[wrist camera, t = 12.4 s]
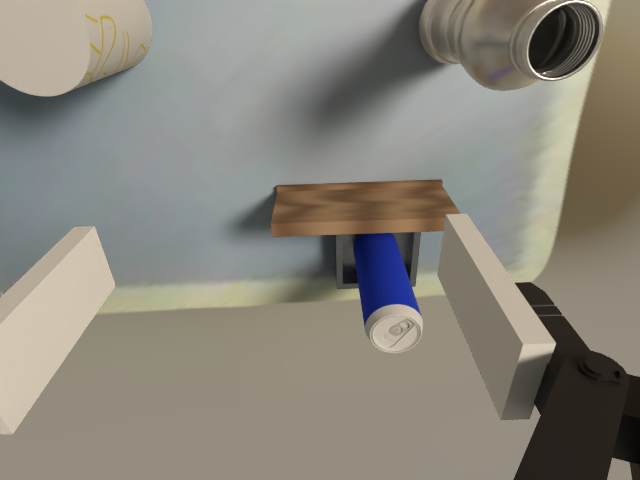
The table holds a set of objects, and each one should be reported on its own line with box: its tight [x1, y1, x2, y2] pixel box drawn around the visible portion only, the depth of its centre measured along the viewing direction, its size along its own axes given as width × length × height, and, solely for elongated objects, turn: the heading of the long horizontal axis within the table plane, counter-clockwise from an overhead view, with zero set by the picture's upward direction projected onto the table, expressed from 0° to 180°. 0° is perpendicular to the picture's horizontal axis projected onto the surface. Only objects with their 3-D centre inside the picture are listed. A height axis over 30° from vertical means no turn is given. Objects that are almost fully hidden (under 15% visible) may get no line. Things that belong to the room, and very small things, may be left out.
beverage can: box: [353, 233, 423, 353], centre depth 42 cm, size 5×5×15 cm
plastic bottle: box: [419, 0, 603, 91], centre depth 29 cm, size 6×7×20 cm
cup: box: [0, 0, 152, 96], centre depth 32 cm, size 8×8×12 cm
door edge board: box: [271, 180, 460, 237], centre depth 42 cm, size 18×2×8 cm, turn 92°
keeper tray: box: [335, 232, 421, 289], centre depth 48 cm, size 9×9×2 cm
